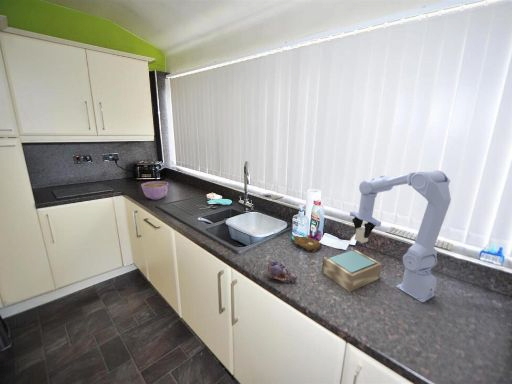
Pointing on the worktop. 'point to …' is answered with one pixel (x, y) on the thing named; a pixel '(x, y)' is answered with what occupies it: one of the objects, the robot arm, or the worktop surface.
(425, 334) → the worktop surface
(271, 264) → the purple lumpy piece
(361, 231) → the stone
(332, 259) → the trapdoor
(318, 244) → the decorative rock
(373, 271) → the trapdoor frame
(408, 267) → the robot arm
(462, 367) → the worktop surface
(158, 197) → the bowl of food
